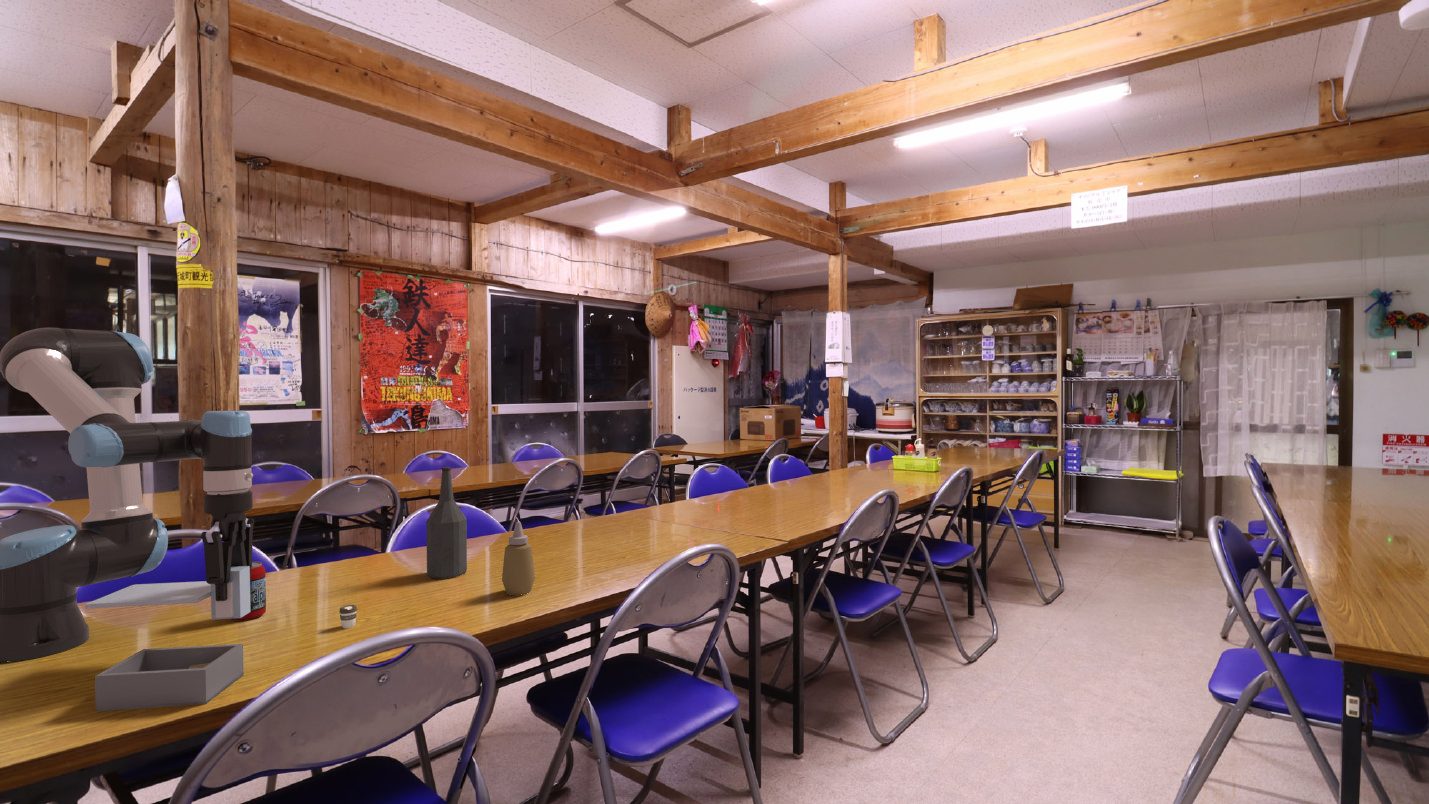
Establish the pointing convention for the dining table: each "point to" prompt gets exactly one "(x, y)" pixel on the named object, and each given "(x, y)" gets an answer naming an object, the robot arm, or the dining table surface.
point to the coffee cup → (348, 615)
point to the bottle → (446, 534)
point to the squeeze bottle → (518, 564)
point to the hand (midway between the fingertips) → (231, 612)
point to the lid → (181, 594)
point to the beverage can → (256, 592)
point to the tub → (169, 677)
